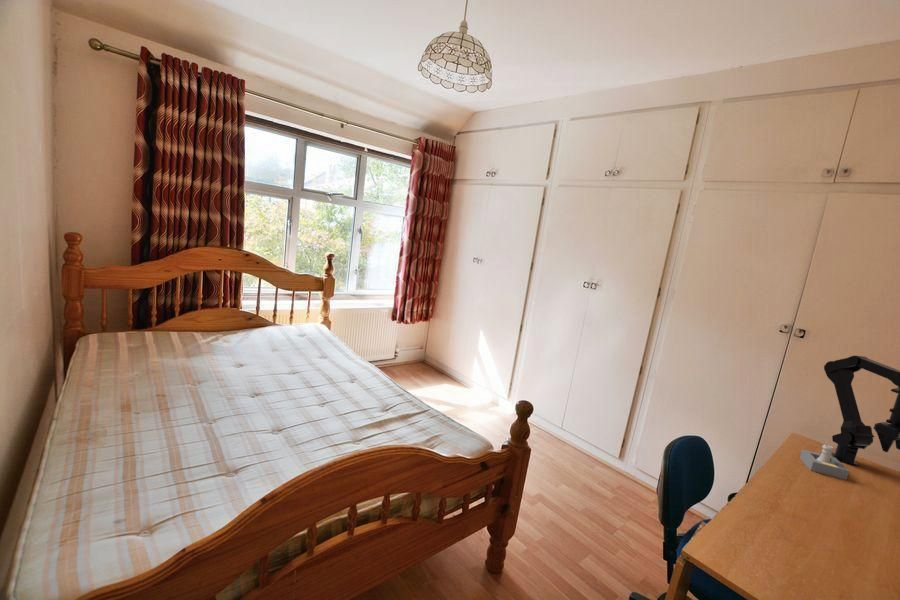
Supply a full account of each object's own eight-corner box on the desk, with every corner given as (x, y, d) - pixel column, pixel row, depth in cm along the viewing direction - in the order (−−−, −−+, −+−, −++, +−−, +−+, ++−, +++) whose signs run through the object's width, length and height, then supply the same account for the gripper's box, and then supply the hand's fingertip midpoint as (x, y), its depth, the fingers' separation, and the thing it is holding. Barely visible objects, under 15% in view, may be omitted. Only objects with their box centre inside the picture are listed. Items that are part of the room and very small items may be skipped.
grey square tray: (799, 457, 153) (802, 448, 153) (832, 466, 149) (835, 457, 149) (810, 470, 144) (813, 461, 144) (846, 480, 140) (849, 470, 140)
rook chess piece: (812, 463, 148) (818, 443, 146) (818, 461, 150) (823, 441, 148) (827, 470, 144) (833, 449, 142) (833, 468, 146) (839, 448, 144)
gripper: (926, 422, 127) (910, 466, 130) (953, 418, 134) (938, 460, 137) (879, 406, 137) (866, 448, 140) (906, 403, 144) (893, 443, 147)
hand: (891, 450), depth 141 cm, fingers open, 9 cm apart
